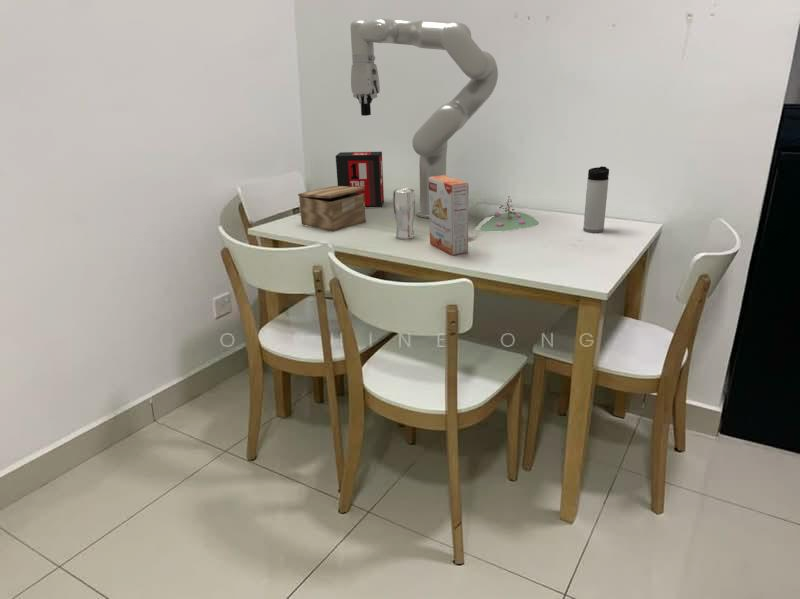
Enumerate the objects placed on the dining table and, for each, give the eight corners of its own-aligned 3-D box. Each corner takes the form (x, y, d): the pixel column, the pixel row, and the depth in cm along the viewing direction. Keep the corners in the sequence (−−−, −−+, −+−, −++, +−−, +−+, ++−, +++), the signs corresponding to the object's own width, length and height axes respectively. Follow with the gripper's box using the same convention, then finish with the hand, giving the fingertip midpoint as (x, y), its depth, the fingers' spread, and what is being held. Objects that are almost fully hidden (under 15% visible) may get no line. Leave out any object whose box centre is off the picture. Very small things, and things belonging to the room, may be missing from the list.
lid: (365, 189, 211) (364, 187, 211) (329, 198, 200) (329, 196, 200) (333, 188, 222) (333, 185, 222) (298, 196, 211) (298, 193, 211)
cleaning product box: (339, 208, 237) (335, 155, 229) (343, 202, 245) (339, 152, 238) (381, 207, 235) (378, 155, 228) (384, 202, 243) (381, 151, 236)
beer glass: (391, 238, 195) (389, 192, 189) (398, 233, 201) (397, 187, 195) (411, 240, 192) (410, 193, 187) (418, 234, 198) (417, 188, 193)
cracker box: (428, 244, 188) (427, 176, 180) (445, 241, 190) (445, 174, 182) (450, 256, 176) (450, 184, 168) (468, 253, 178) (469, 181, 171)
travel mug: (607, 229, 196) (613, 167, 189) (597, 234, 192) (603, 170, 185) (589, 226, 200) (594, 165, 193) (579, 231, 196) (584, 168, 189)
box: (366, 221, 215) (364, 193, 212) (332, 231, 205) (330, 202, 201) (335, 215, 226) (333, 188, 222) (301, 224, 215) (299, 196, 211)
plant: (516, 238, 193) (517, 210, 190) (459, 229, 204) (459, 203, 201) (547, 220, 212) (548, 194, 208) (494, 213, 223) (494, 189, 220)
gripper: (386, 59, 207) (388, 115, 214) (355, 60, 217) (358, 113, 223) (371, 59, 202) (374, 117, 209) (340, 60, 211) (343, 115, 218)
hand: (366, 115), depth 216 cm, fingers closed
